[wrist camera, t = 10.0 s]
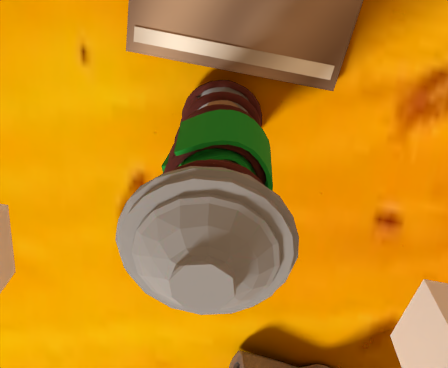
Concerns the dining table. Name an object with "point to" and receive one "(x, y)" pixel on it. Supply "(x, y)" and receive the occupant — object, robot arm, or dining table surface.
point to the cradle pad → (248, 35)
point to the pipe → (261, 362)
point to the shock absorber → (211, 211)
